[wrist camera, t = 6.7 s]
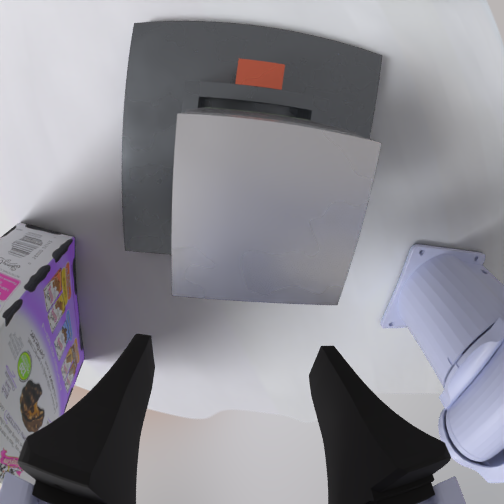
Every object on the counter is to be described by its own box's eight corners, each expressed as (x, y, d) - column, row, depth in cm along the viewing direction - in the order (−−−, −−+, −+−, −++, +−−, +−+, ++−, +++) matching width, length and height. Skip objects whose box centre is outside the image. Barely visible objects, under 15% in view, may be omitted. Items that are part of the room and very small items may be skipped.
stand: (374, 57, 14) (409, 49, 10) (333, 259, 21) (353, 293, 17) (139, 26, 12) (114, 9, 9) (129, 243, 19) (109, 276, 15)
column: (306, 119, 11) (384, 141, 5) (291, 210, 13) (338, 306, 7) (205, 107, 11) (174, 111, 5) (197, 202, 13) (170, 297, 7)
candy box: (17, 219, 17) (-123, 370, 3) (78, 234, 18) (-59, 436, 4) (37, 344, 23) (-22, 478, 9) (87, 361, 24) (40, 512, 10)
